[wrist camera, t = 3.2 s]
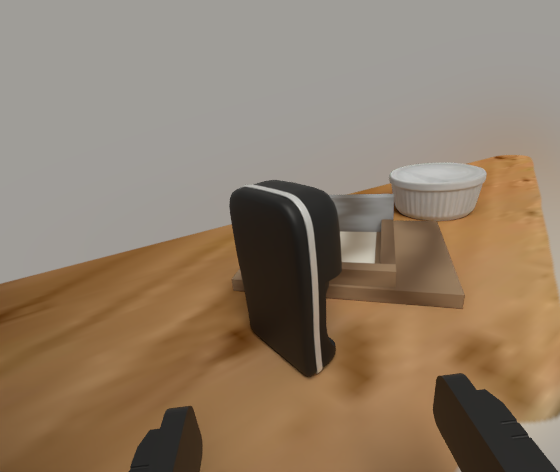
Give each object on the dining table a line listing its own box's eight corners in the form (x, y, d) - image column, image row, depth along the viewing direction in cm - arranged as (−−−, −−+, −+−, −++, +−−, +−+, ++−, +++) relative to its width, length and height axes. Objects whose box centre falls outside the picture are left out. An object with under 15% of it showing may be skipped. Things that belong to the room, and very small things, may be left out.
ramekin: (375, 217, 43) (375, 178, 41) (406, 194, 51) (408, 161, 49) (468, 231, 36) (474, 186, 34) (488, 202, 44) (494, 163, 42)
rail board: (233, 290, 30) (223, 239, 28) (279, 228, 43) (275, 190, 41) (462, 308, 24) (471, 246, 22) (435, 230, 37) (439, 186, 35)
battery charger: (353, 352, 21) (350, 184, 17) (311, 385, 19) (295, 203, 15) (286, 308, 26) (270, 171, 22) (248, 330, 24) (221, 184, 20)
